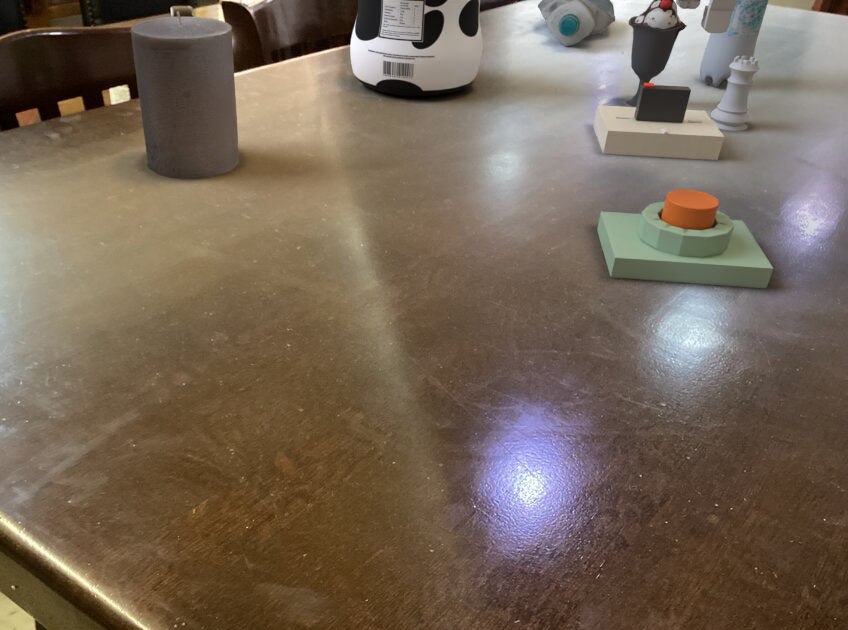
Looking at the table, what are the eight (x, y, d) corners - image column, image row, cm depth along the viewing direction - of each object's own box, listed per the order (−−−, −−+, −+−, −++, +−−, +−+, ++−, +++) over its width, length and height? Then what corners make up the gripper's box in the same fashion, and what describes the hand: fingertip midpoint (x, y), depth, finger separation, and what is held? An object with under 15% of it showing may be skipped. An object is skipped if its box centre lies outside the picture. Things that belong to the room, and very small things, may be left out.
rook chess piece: (698, 125, 98) (717, 55, 93) (726, 120, 99) (746, 52, 95) (726, 136, 95) (747, 65, 90) (755, 132, 96) (777, 61, 91)
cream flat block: (697, 136, 95) (705, 108, 93) (716, 164, 87) (725, 135, 85) (592, 130, 96) (597, 103, 94) (602, 158, 89) (608, 129, 87)
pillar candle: (129, 175, 83) (106, 17, 74) (176, 144, 91) (161, -2, 82) (215, 188, 80) (201, 26, 72) (256, 156, 88) (248, 6, 79)
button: (706, 213, 68) (712, 190, 67) (717, 234, 65) (725, 210, 63) (656, 210, 68) (662, 187, 67) (665, 231, 65) (672, 206, 64)
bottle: (702, 74, 116) (744, -87, 105) (751, 82, 113) (800, -83, 102) (688, 84, 112) (730, -82, 100) (739, 93, 109) (789, -78, 97)
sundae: (648, 118, 100) (680, -16, 91) (601, 105, 104) (627, -24, 95) (676, 108, 103) (709, -22, 95) (630, 96, 107) (657, -30, 99)
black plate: (680, 118, 90) (689, 84, 88) (682, 122, 89) (691, 87, 87) (633, 116, 91) (641, 82, 89) (635, 120, 90) (643, 85, 87)
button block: (735, 243, 72) (749, 200, 69) (764, 293, 64) (781, 247, 62) (596, 234, 73) (605, 191, 71) (609, 282, 66) (619, 236, 63)
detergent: (540, 15, 147) (516, 43, 127) (550, -29, 143) (527, -7, 123) (614, 28, 144) (601, 59, 124) (626, -16, 140) (615, 8, 120)
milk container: (445, 66, 119) (457, -75, 108) (501, 99, 106) (520, -57, 95) (332, 75, 114) (333, -71, 104) (376, 111, 101) (382, -52, 91)
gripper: (842, -173, 53) (775, 49, 61) (751, -179, 70) (708, -3, 78) (742, -174, 54) (688, 46, 62) (675, -180, 70) (640, -5, 78)
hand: (699, 18), depth 70 cm, fingers open, 8 cm apart
